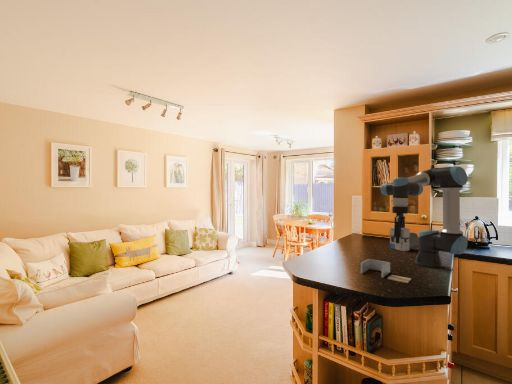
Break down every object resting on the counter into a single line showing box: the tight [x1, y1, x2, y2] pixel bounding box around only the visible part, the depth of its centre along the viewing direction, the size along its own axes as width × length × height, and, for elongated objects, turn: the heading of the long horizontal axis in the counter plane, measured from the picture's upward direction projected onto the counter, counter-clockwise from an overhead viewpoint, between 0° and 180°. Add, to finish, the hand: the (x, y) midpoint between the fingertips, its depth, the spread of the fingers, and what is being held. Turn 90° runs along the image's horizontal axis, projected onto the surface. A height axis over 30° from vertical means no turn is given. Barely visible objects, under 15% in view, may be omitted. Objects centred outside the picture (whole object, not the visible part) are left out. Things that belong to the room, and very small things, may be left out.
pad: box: [386, 274, 412, 284], centre depth 146 cm, size 9×10×1 cm
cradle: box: [360, 258, 391, 279], centre depth 158 cm, size 14×12×6 cm
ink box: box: [389, 226, 411, 252], centre depth 147 cm, size 8×5×12 cm, turn 26°
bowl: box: [409, 232, 419, 251], centre depth 235 cm, size 20×20×15 cm
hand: (399, 248), depth 147 cm, fingers closed on ink box, 7 cm apart
